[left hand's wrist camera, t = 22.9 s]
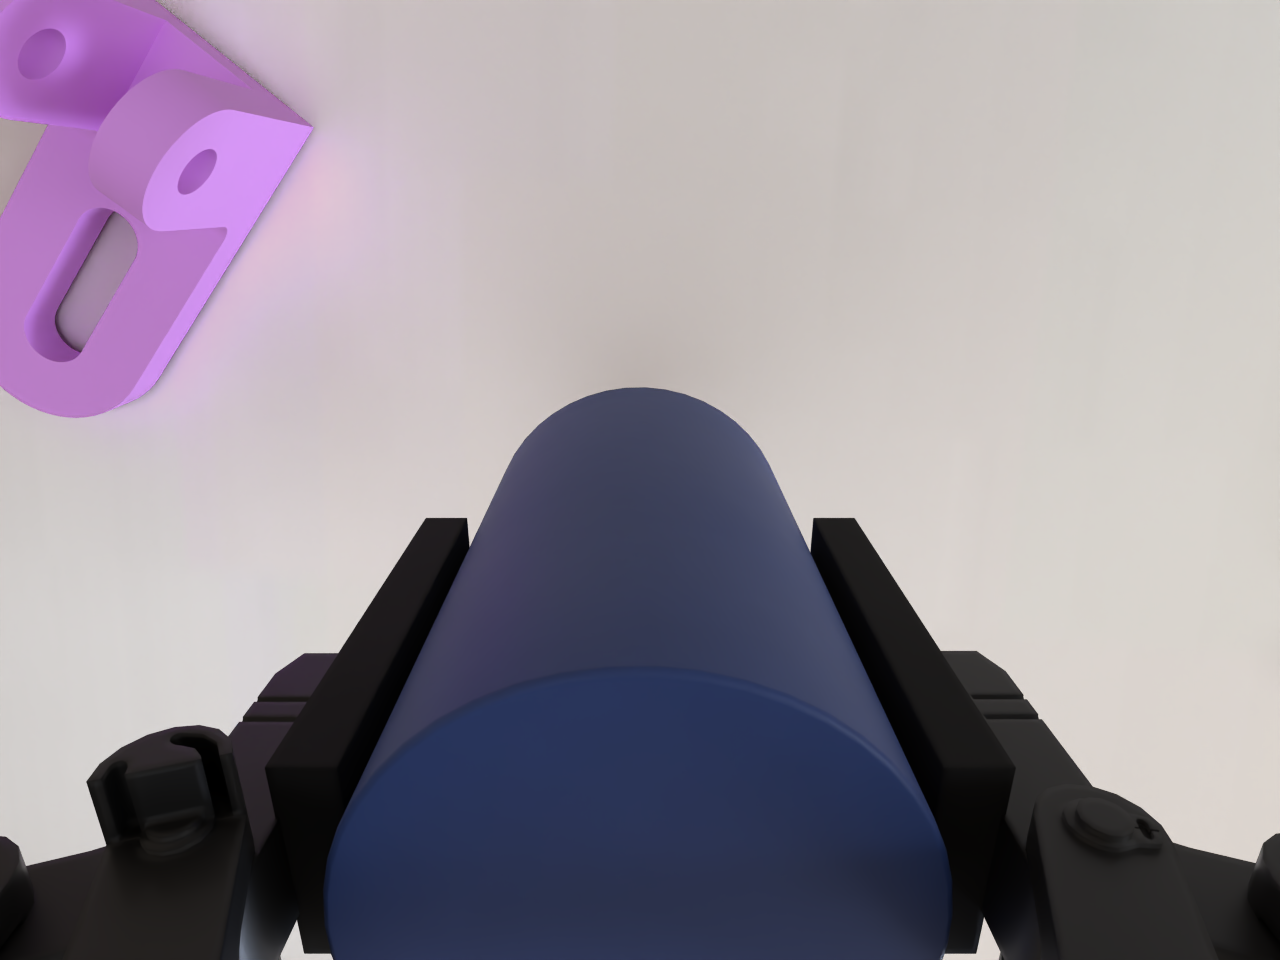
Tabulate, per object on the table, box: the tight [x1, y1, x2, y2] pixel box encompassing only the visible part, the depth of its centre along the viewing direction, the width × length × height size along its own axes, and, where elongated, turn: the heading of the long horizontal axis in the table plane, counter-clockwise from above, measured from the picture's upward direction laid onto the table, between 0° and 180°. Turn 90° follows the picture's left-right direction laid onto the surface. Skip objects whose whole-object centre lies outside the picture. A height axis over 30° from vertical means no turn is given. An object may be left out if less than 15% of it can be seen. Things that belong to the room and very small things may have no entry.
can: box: [323, 388, 953, 960], centre depth 13 cm, size 6×6×10 cm
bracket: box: [0, 0, 314, 418], centre depth 22 cm, size 13×6×7 cm, turn 141°
